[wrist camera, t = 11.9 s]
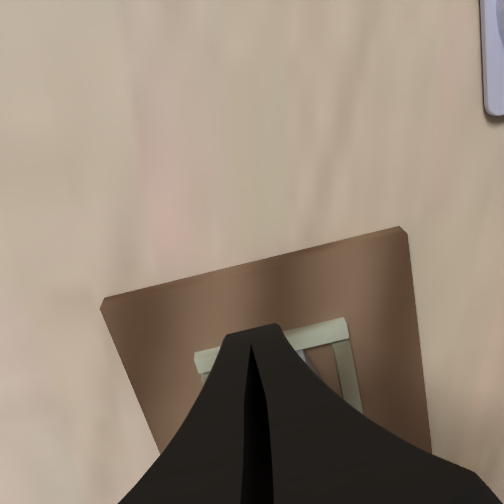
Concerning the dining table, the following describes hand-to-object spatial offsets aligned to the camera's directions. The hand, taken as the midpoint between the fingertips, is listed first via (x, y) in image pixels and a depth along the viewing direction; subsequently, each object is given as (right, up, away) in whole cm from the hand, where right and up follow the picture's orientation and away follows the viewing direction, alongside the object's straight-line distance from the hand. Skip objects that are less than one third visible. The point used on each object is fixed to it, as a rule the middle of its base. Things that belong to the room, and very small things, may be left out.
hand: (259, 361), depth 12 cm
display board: (+1, -4, +13) cm, 14 cm away
